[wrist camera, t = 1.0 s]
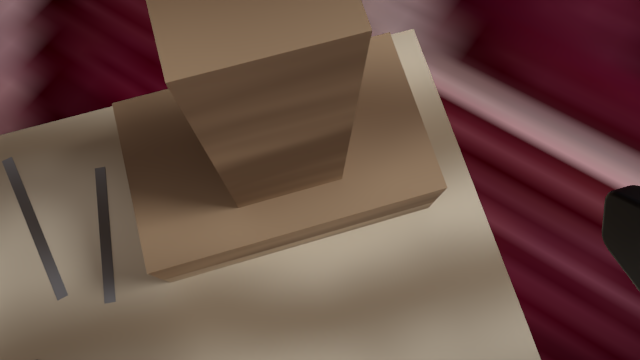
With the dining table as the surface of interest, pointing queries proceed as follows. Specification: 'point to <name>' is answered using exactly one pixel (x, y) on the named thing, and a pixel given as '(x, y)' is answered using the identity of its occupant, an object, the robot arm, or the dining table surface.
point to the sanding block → (269, 132)
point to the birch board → (244, 267)
